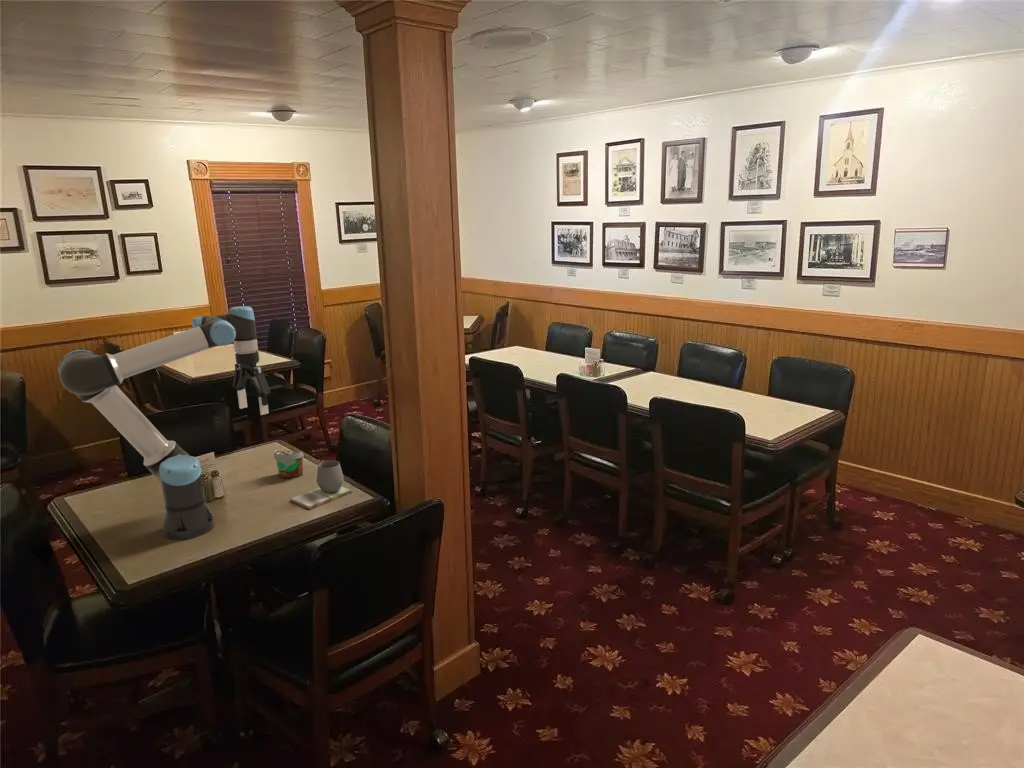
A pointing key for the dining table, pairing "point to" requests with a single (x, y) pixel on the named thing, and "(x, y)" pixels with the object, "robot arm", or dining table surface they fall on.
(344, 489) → the green and white board
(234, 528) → the dining table surface
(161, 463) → the robot arm
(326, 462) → the cup
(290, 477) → the food container
